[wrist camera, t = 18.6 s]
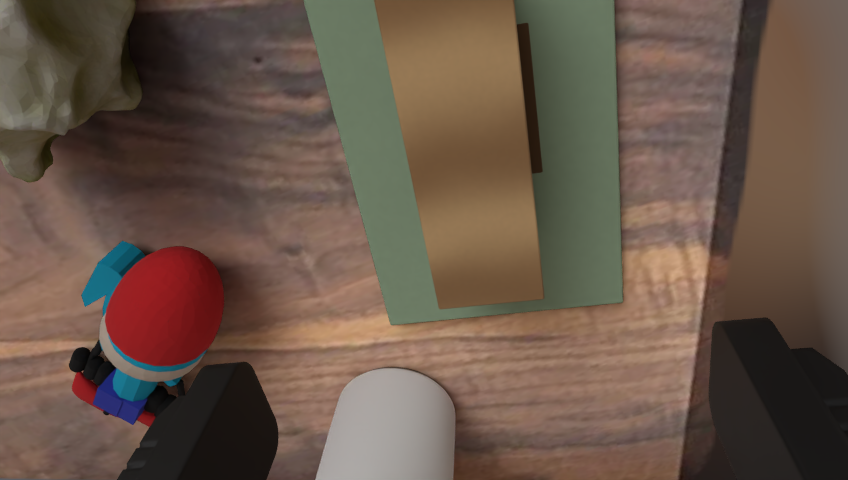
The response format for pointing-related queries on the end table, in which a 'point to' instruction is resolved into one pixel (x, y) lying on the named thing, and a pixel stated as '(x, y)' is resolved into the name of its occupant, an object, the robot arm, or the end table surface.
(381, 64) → the mat
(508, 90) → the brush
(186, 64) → the end table surface
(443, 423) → the can
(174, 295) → the toy figure
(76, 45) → the fruit
